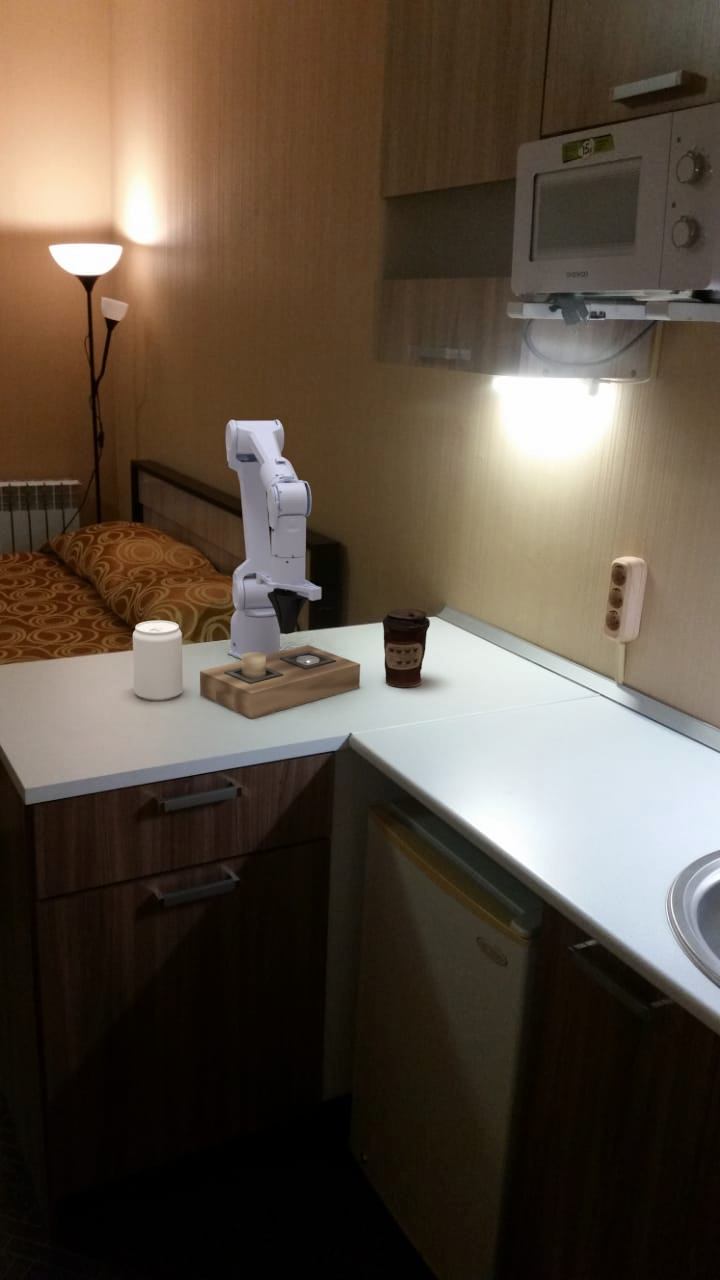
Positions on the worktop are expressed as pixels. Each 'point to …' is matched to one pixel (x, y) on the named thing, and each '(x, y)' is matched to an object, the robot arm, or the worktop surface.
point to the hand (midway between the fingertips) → (287, 632)
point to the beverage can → (157, 660)
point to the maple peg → (253, 665)
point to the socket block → (280, 682)
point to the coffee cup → (404, 646)
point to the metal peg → (307, 660)
